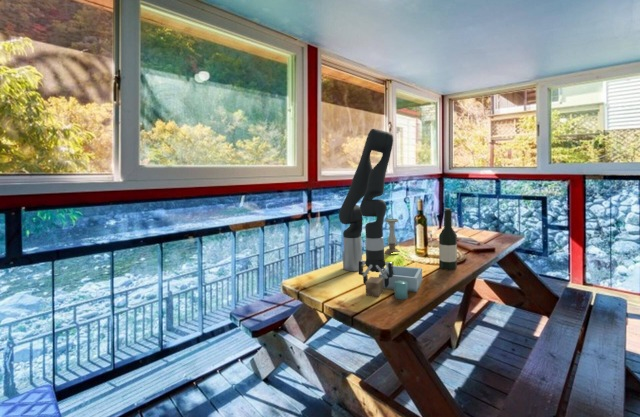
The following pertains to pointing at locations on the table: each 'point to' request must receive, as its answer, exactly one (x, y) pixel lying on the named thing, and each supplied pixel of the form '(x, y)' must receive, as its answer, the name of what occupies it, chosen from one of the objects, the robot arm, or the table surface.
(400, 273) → the blue-grey tote
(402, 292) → the teal glossy cylinder
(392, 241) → the candle holder
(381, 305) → the table surface
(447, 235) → the wine bottle
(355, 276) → the table surface
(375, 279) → the walnut block
